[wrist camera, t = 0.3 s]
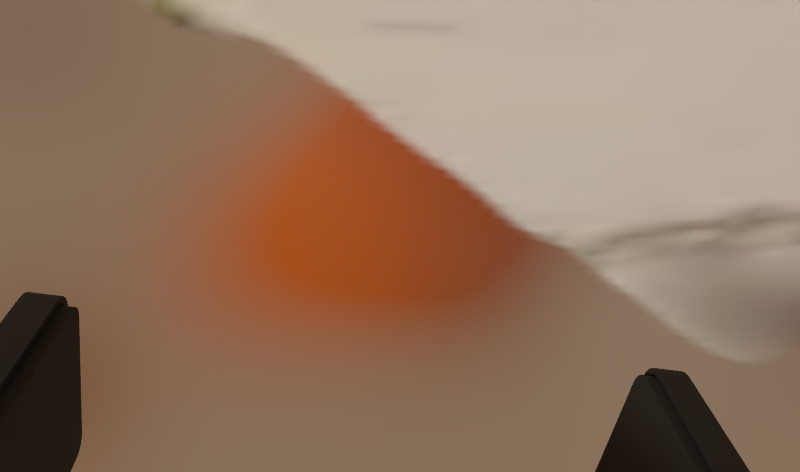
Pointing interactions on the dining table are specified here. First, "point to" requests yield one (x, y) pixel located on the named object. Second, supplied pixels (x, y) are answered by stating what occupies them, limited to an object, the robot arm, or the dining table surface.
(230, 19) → the dining table surface
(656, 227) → the dining table surface
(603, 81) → the dining table surface
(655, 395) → the robot arm
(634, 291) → the dining table surface
